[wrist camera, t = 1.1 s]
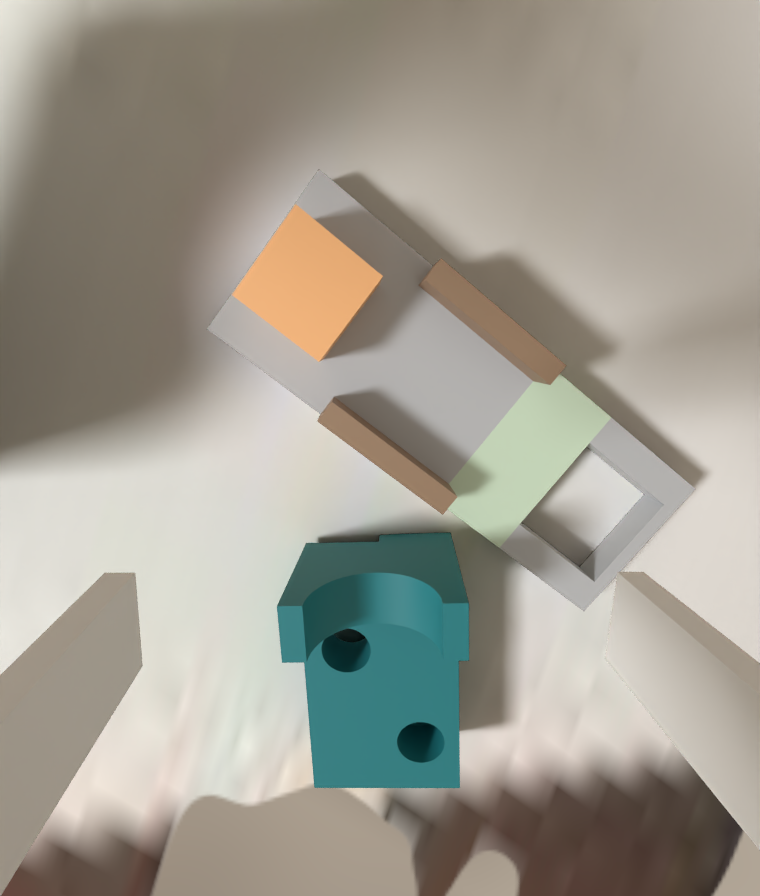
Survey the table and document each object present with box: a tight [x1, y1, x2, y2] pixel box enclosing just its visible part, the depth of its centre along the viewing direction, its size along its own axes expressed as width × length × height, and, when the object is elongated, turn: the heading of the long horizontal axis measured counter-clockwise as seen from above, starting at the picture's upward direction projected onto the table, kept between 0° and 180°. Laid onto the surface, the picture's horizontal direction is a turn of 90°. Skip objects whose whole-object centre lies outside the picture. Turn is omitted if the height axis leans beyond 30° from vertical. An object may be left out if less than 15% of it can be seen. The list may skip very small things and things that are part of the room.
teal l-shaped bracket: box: [277, 533, 469, 788], centre depth 35 cm, size 18×11×10 cm, turn 2°
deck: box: [207, 169, 695, 611], centre depth 34 cm, size 34×12×6 cm, turn 52°
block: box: [232, 204, 383, 362], centre depth 30 cm, size 6×6×4 cm
